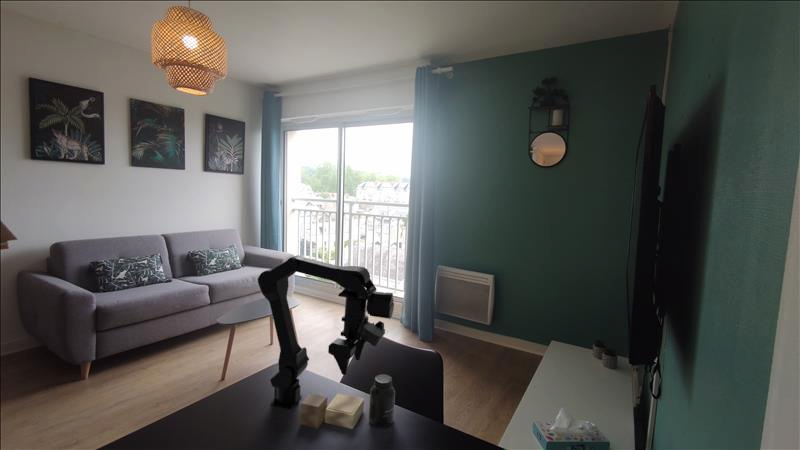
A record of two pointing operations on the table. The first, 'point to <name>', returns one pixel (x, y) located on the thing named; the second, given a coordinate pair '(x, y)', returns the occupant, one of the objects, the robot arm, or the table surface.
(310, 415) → the walnut block
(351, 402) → the oak block
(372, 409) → the supplement bottle
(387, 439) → the table surface
